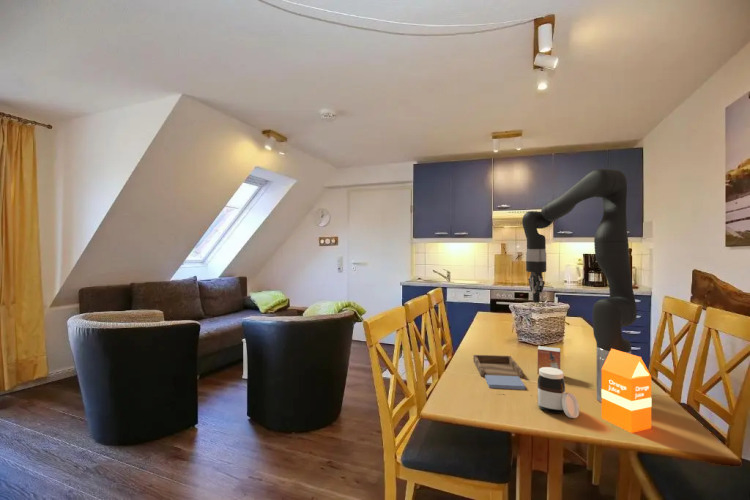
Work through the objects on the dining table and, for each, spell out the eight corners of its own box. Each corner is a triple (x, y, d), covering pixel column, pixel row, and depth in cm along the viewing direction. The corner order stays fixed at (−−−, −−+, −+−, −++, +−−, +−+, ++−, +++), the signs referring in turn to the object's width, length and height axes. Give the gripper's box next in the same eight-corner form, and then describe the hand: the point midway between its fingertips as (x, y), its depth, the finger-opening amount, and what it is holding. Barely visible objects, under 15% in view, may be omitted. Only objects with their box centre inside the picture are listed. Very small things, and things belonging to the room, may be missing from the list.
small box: (537, 376, 136) (537, 349, 136) (537, 371, 141) (537, 345, 141) (560, 379, 132) (560, 351, 132) (560, 374, 137) (560, 347, 137)
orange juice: (620, 413, 105) (620, 347, 105) (651, 428, 97) (652, 355, 97) (601, 417, 103) (601, 349, 103) (631, 433, 95) (631, 358, 94)
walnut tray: (522, 380, 132) (522, 370, 132) (481, 378, 134) (481, 369, 134) (510, 364, 150) (510, 355, 150) (473, 362, 152) (473, 354, 152)
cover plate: (525, 393, 122) (525, 386, 122) (489, 391, 123) (489, 384, 123) (518, 383, 130) (518, 376, 130) (485, 381, 132) (485, 375, 132)
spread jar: (538, 399, 116) (538, 364, 116) (578, 406, 110) (578, 369, 110) (536, 415, 105) (536, 376, 105) (580, 423, 100) (580, 382, 100)
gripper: (551, 260, 137) (552, 305, 137) (540, 259, 150) (540, 300, 151) (531, 261, 138) (531, 305, 138) (521, 259, 151) (521, 299, 151)
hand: (536, 302), depth 144 cm, fingers closed
